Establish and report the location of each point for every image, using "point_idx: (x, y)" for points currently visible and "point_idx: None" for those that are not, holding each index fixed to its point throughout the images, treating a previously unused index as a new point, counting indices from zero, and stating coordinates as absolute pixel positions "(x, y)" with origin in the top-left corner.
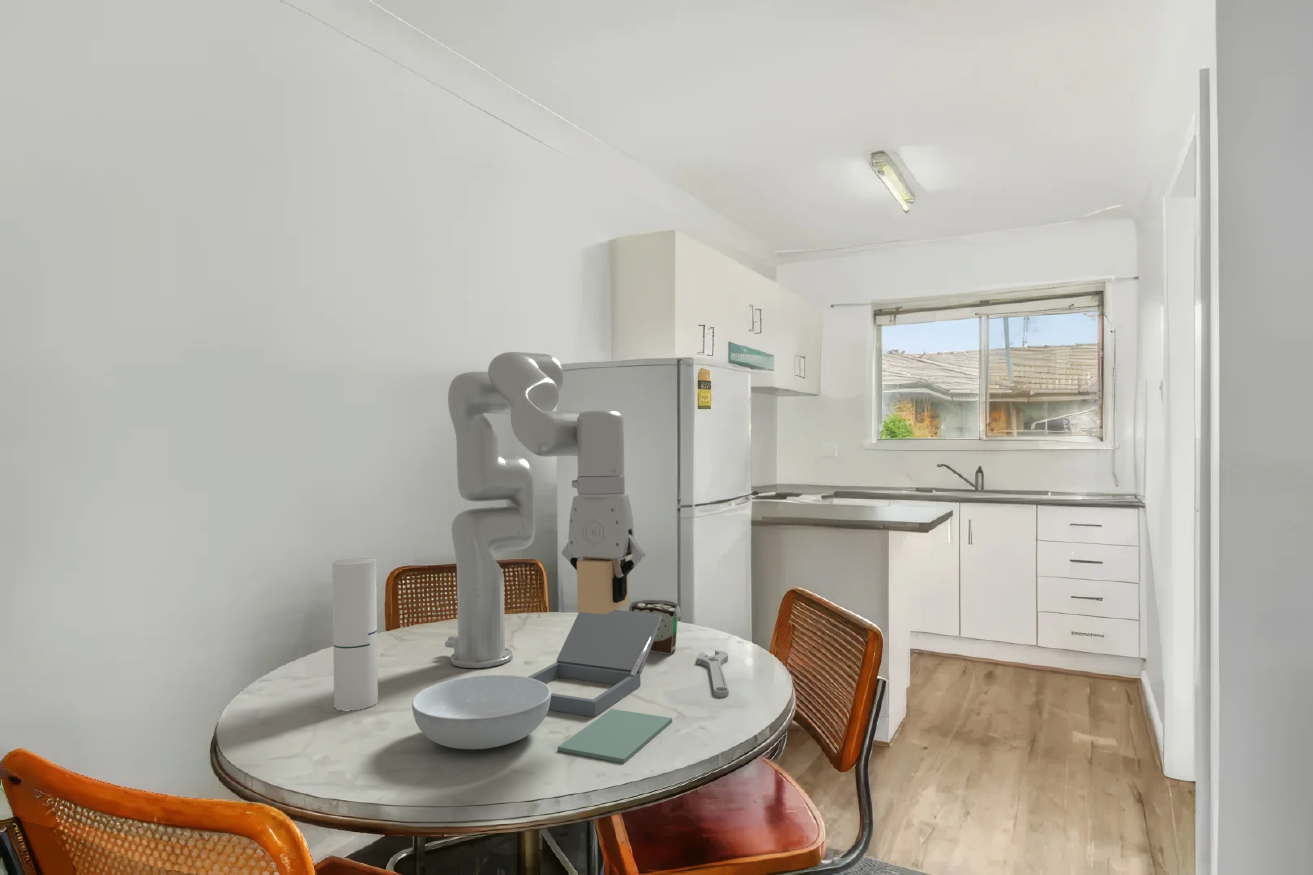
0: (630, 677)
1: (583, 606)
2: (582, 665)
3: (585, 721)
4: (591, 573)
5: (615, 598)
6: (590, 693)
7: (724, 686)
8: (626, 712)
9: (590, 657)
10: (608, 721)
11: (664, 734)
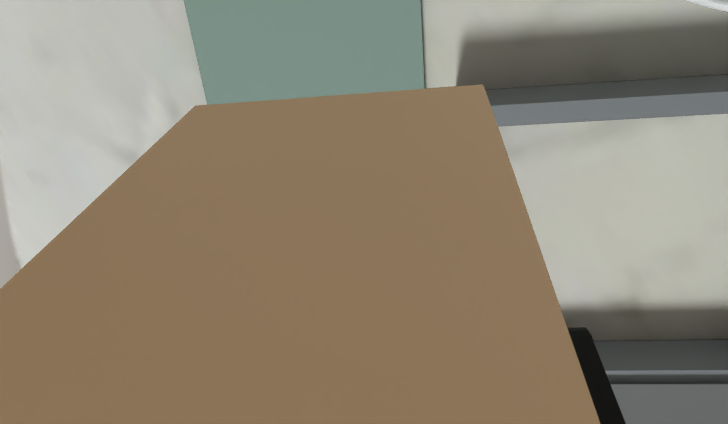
0: None
1: (417, 105)
2: (681, 381)
3: (467, 45)
4: (216, 334)
5: None
6: (577, 257)
7: None
8: None
9: (665, 413)
10: (376, 54)
11: (185, 66)
